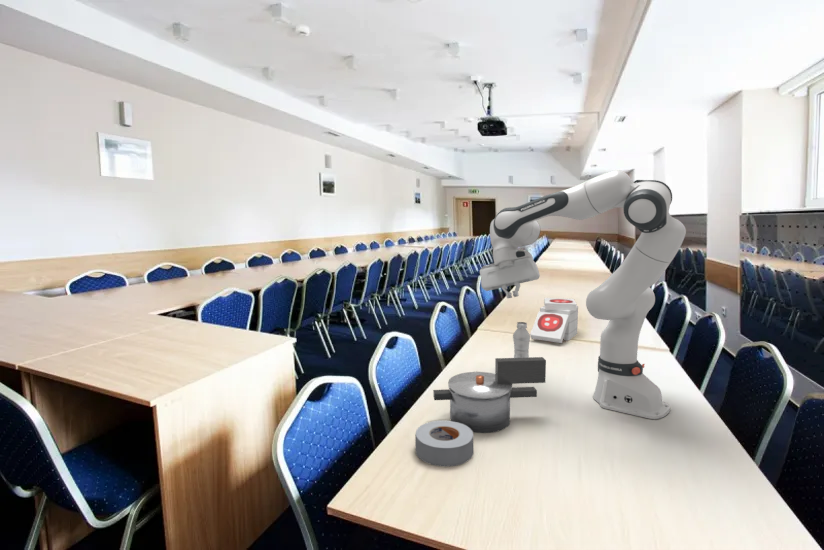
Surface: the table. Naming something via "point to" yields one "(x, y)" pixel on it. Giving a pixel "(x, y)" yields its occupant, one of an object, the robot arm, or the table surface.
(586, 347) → the table surface
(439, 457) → the tape roll
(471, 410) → the cooker pot
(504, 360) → the lid
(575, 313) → the pizza boxes
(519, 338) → the plastic bottle
